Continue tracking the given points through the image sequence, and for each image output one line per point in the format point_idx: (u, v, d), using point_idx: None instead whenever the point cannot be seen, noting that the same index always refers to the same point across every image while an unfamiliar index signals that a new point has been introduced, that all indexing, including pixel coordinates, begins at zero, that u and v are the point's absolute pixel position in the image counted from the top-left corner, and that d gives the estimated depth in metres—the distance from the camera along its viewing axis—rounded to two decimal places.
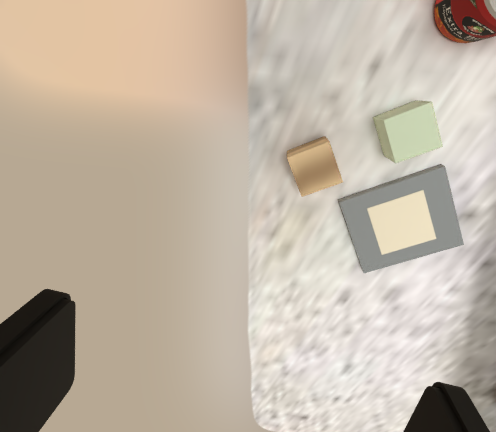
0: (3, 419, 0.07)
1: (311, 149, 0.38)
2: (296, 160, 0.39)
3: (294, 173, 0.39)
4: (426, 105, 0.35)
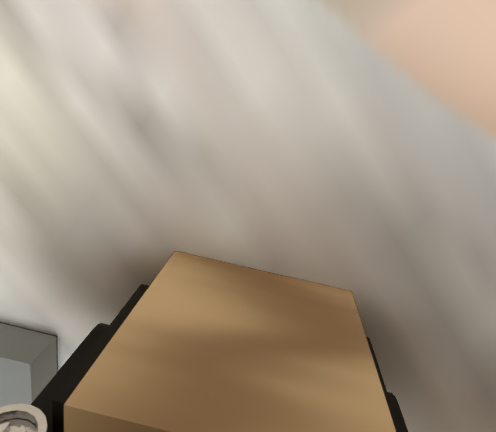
0: None
1: None
2: None
3: None
4: None
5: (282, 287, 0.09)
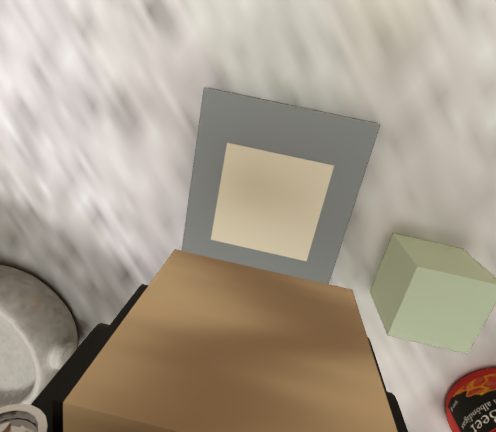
0: None
1: None
2: None
3: None
4: (468, 346, 0.21)
5: (282, 285, 0.09)
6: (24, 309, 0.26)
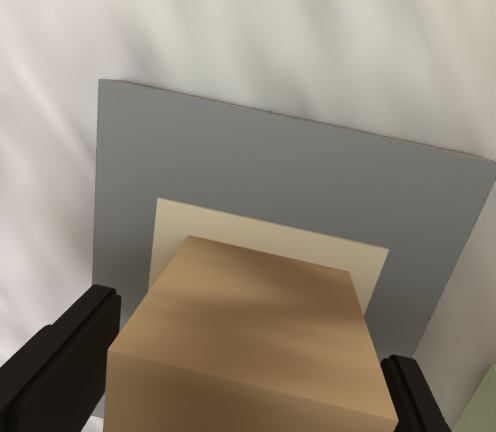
0: (67, 403, 0.07)
1: None
2: None
3: (276, 398, 0.06)
4: None
5: (286, 266, 0.10)
6: None
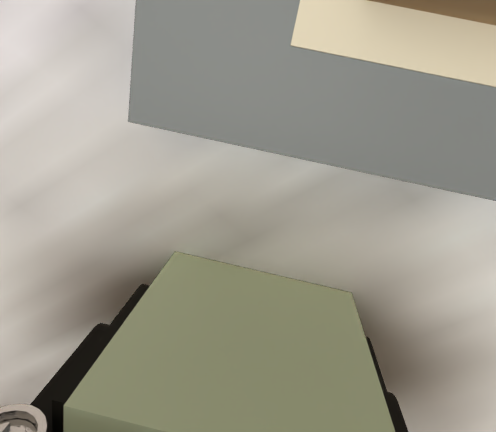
0: None
1: None
2: None
3: None
4: None
5: None
6: None
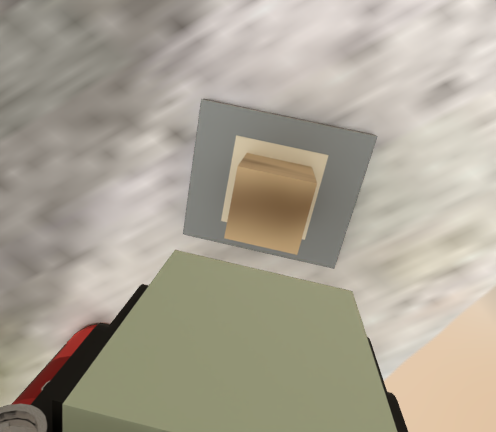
0: None
1: (255, 243, 0.23)
2: (286, 242, 0.22)
3: (302, 226, 0.22)
4: None
5: None
6: None
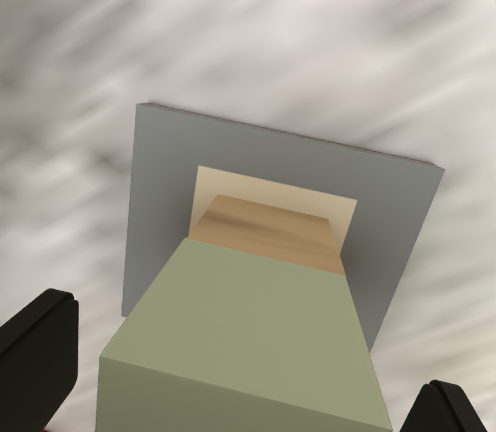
0: (8, 417, 0.07)
1: None
2: None
3: None
4: None
5: None
6: None
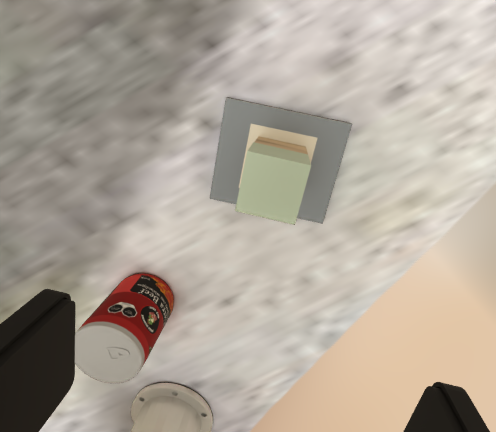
0: (3, 419, 0.07)
1: None
2: None
3: None
4: (242, 210, 0.28)
5: None
6: None
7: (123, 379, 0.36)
